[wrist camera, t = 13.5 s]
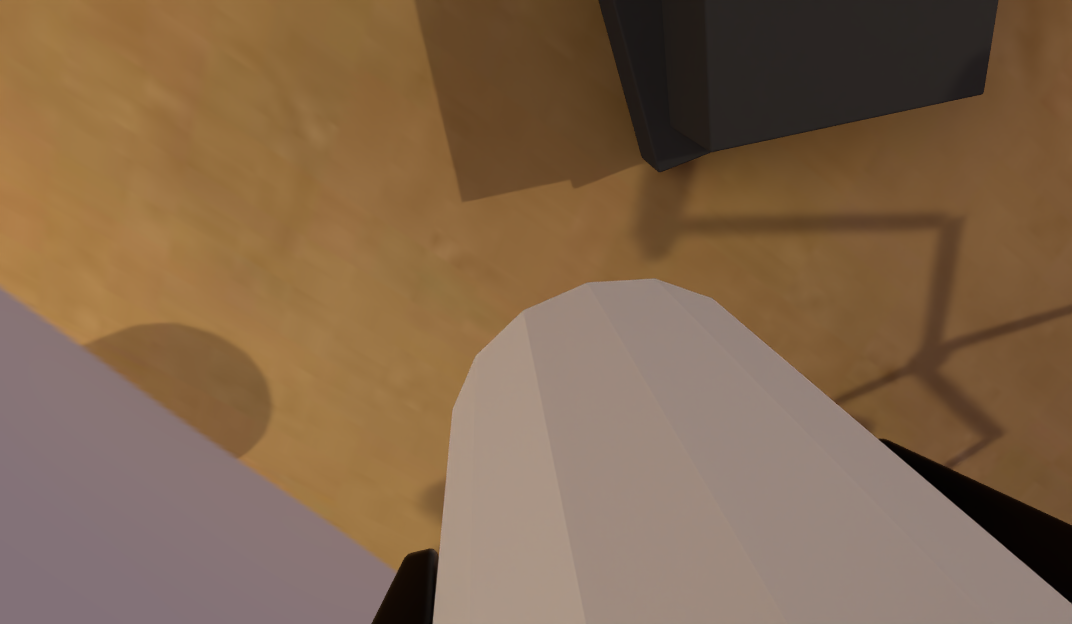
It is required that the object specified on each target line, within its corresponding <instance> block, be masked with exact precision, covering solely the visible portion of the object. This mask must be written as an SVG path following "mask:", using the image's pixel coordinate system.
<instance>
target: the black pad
mask: <svg viewBox="0 0 1072 624" xmlns="http://www.w3.org/2000/svg"><path fill="white" fill-rule="evenodd" d="M997 5H998V0H662V15H663V29H664V44H665V58H666V73H667V87H668V102H669V116H670V126H671V127H672V128H674V129H676V130H677V131H679V132H680V133H682V134H683V135H685V136H686V137H688V138H690V139H691V140H693V141H694V142H696V143H697V144H699V145H700V146H702V147H704V148H705V149H707V150H708V151H710V152H715V151H719V150H724V149H729V148H733V147H738V146H743V145H747V144H752V143H757V142H761V141H766V140H771V139H775V138H780V137H785V136H789V135H794V134H799V133H803V132H808V131H813V130H817V129H822V128H827V127H832V126H836V125H841V124H846V123H850V122H855V121H860V120H864V119H869V118H874V117H878V116H883V115H888V114H892V113H897V112H902V111H906V110H911V109H916V108H920V107H925V106H930V105H934V104H939V103H944V102H948V101H953V100H958V99H962V98H967V97H972V96H976V95H981V94H983V92H984V87H985V80H986V74H987V68H988V62H989V55H990V49H991V43H992V37H993V30H994V24H995V18H996V11H997Z"/></svg>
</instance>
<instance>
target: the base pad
mask: <svg viewBox="0 0 1072 624" xmlns="http://www.w3.org/2000/svg"><path fill="white" fill-rule="evenodd" d="M599 4H600V7H601V11H602V15H603V18H604V22H605V25H606V29H607V33H608V36H609V40H610V44H611V47H612V51H613V54H614V58H615V62H616V65H617V69H618V73H619V76H620V80H621V83H622V87H623V91H624V94H625V98H626V102H627V105H628V109H629V112H630V116H631V120H632V123H633V127H634V131H635V134H636V138H637V141H638V145H639V149H640V152H641V156H642V158H643V159H644V160H645V161H646V162H648V163H649V164H650V165H651V166H652V167H653V168H654V169H655V170H657V171H658V172H662V171H665V170H667V169H670V168H672V167H675V166H677V165H680V164H683V163H685V162H688V161H690V160H693V159H695V158H698V157H700V156H703V155H705V154H708V153H710V151H708V150H707V149H705V148H704V147H702V146H700V145H699V144H697V143H696V142H694V141H693V140H691V139H690V138H688V137H686V136H685V135H683V134H682V133H680V132H679V131H677V130H676V129H674V128H672V127H671V126H670V116H669V102H668V87H667V73H666V58H665V44H664V29H663V15H662V0H599Z"/></svg>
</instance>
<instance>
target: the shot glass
mask: <svg viewBox="0 0 1072 624" xmlns="http://www.w3.org/2000/svg"><path fill="white" fill-rule="evenodd" d="M433 624H1072V604H1071V603H1070V602H1069V601H1068V600H1067V599H1065V598H1064V597H1063V596H1062V595H1061V594H1060V593H1058V592H1057V591H1056V590H1055V589H1054V588H1053V587H1051V586H1050V585H1049V584H1048V583H1047V582H1045V581H1044V580H1043V579H1042V578H1041V577H1040V576H1038V575H1037V574H1036V573H1035V572H1034V571H1033V570H1031V569H1030V568H1029V567H1028V566H1027V565H1025V564H1024V563H1023V562H1022V561H1021V560H1020V559H1018V558H1017V557H1016V556H1015V555H1014V554H1013V553H1011V552H1010V551H1009V550H1008V549H1007V548H1005V547H1004V546H1003V545H1002V544H1001V543H1000V542H998V541H997V540H996V539H995V538H994V537H993V536H991V535H990V534H989V533H988V532H987V531H985V530H984V529H983V528H982V527H981V526H980V525H978V524H977V523H976V522H975V521H974V520H973V519H971V518H970V517H969V516H968V515H967V514H965V513H964V512H963V511H962V510H961V509H960V508H958V507H957V506H956V505H955V504H954V503H953V502H951V501H950V500H949V499H948V498H947V497H945V496H944V495H943V494H942V493H941V492H940V491H938V490H937V489H936V488H935V487H934V486H933V485H931V484H930V483H929V482H928V481H927V480H925V479H924V478H923V477H922V476H921V475H920V474H918V473H917V472H916V471H915V470H914V469H913V468H911V467H910V466H909V465H908V464H907V463H905V462H904V461H903V460H902V459H901V458H900V457H898V456H897V455H896V454H895V453H894V452H893V451H891V450H890V449H889V448H888V447H887V446H885V445H884V444H883V443H882V442H881V441H880V440H878V439H877V438H876V437H875V436H874V435H873V434H871V433H870V432H869V431H868V430H867V429H865V428H864V427H863V426H862V425H861V424H860V423H858V422H857V421H856V420H855V419H854V418H853V417H851V416H850V415H849V414H848V413H847V412H845V411H844V410H843V409H842V408H841V407H840V406H838V405H837V404H836V403H835V402H834V401H833V400H831V399H830V398H829V397H828V396H827V395H825V394H824V393H823V392H822V391H821V390H820V389H818V388H817V387H816V386H815V385H814V384H813V383H811V382H810V381H809V380H808V379H807V378H806V377H804V376H803V375H802V374H801V373H800V372H798V371H797V370H796V369H795V368H794V367H793V366H791V365H790V364H789V363H788V362H787V361H786V360H784V359H783V358H782V357H781V356H780V355H778V354H777V353H776V352H775V351H774V350H773V349H771V348H770V347H769V346H768V345H767V344H766V343H764V342H763V341H762V340H761V339H760V338H758V337H757V336H756V335H755V334H754V333H753V332H751V331H750V330H749V329H748V328H747V327H746V326H744V325H743V324H742V323H741V322H740V321H738V320H737V319H736V318H735V317H734V316H733V315H731V314H730V313H729V312H728V311H727V310H726V309H724V308H723V307H722V306H721V305H720V304H718V303H717V302H716V301H715V300H714V299H713V298H710V297H707V296H704V295H701V294H698V293H695V292H692V291H689V290H687V289H684V288H681V287H678V286H675V285H672V284H669V283H666V282H663V281H660V280H658V279H641V280H624V281H606V282H589V283H585V284H583V285H581V286H578V287H576V288H574V289H571V290H569V291H567V292H565V293H562V294H560V295H558V296H555V297H553V298H551V299H548V300H546V301H544V302H541V303H539V304H537V305H535V306H532V307H530V308H528V309H525V310H523V311H522V312H521V313H520V314H519V315H518V316H517V317H516V318H515V319H514V320H513V321H512V322H511V323H509V324H508V325H507V326H506V327H505V328H504V329H503V330H502V331H501V332H500V333H499V334H498V335H497V336H496V337H495V338H494V339H493V340H492V341H491V342H490V343H489V344H488V345H487V346H485V347H484V348H483V349H482V350H481V351H480V352H479V353H478V354H477V355H476V356H475V358H474V361H473V363H472V365H471V368H470V370H469V372H468V375H467V377H466V379H465V382H464V384H463V386H462V389H461V391H460V393H459V396H458V398H457V400H456V403H455V405H454V407H453V411H452V422H451V433H450V443H449V454H448V465H447V476H446V486H445V497H444V508H443V519H442V529H441V540H440V551H439V561H438V572H437V583H436V594H435V604H434V615H433Z"/></svg>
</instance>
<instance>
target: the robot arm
mask: <svg viewBox="0 0 1072 624" xmlns="http://www.w3.org/2000/svg"><path fill="white" fill-rule="evenodd" d="M878 440H880V441H881V442H882V443H883V444H884V445H885V446H887V447H888V448H889V449H890V450H891V451H893V452H894V453H895V454H896V455H897V456H898V457H900V458H901V459H902V460H903V461H904V462H905V463H907V464H908V465H909V466H910V467H911V468H913V469H914V470H915V471H916V472H917V473H918V474H920V475H921V476H922V477H923V478H924V479H925V480H927V481H928V482H929V483H930V484H931V485H933V486H934V487H935V488H936V489H937V490H938V491H940V492H941V493H942V494H943V495H944V496H945V497H947V498H948V499H949V500H950V501H951V502H953V503H954V504H955V505H956V506H957V507H958V508H960V509H961V510H962V511H963V512H964V513H965V514H967V515H968V516H969V517H970V518H971V519H973V520H974V521H975V522H976V523H977V524H978V525H980V526H981V527H982V528H983V529H984V530H985V531H987V532H988V533H989V534H990V535H991V536H993V537H994V538H995V539H996V540H997V541H998V542H1000V543H1001V544H1002V545H1003V546H1004V547H1005V548H1007V549H1008V550H1009V551H1010V552H1011V553H1013V554H1014V555H1015V556H1016V557H1017V558H1018V559H1020V560H1021V561H1022V562H1023V563H1024V564H1025V565H1027V566H1028V567H1029V568H1030V569H1031V570H1033V571H1034V572H1035V573H1036V574H1037V575H1038V576H1040V577H1041V578H1042V579H1043V580H1044V581H1045V582H1047V583H1048V584H1049V585H1050V586H1051V587H1053V588H1054V589H1055V590H1056V591H1057V592H1058V593H1060V594H1061V595H1062V596H1063V597H1064V598H1065V599H1067V600H1068V601H1069V602H1070V603H1071V604H1072V525H1070V524H1068V523H1065V522H1063V521H1061V520H1059V519H1057V518H1055V517H1053V516H1050V515H1048V514H1046V513H1044V512H1042V511H1040V510H1037V509H1035V508H1033V507H1031V506H1029V505H1027V504H1025V503H1022V502H1020V501H1018V500H1016V499H1014V498H1012V497H1009V496H1007V495H1005V494H1003V493H1001V492H999V491H997V490H994V489H992V488H990V487H988V486H986V485H984V484H981V483H979V482H977V481H975V480H973V479H971V478H969V477H966V476H964V475H962V474H960V473H958V472H956V471H953V470H951V469H949V468H947V467H945V466H943V465H941V464H938V463H936V462H934V461H932V460H930V459H928V458H925V457H923V456H921V455H919V454H917V453H915V452H913V451H910V450H908V449H906V448H904V447H902V446H900V445H897V444H895V443H893V442H891V441H889V440H886V439H878ZM438 561H439V557H438V554H437V552H436V551H435V550H434V549H430V548H429V549H425V550H421V551H417V552H413V553H410V554H408V555H407V556H406V557H405V558H404V560H403V562H402V564H401V566H400V568H399V570H398V572H397V574H396V576H395V578H394V580H393V582H392V584H391V586H390V588H389V590H388V592H387V594H386V596H385V598H384V600H383V602H382V604H381V606H380V608H379V610H378V612H377V614H376V616H375V618H374V620H373V622H372V624H433V615H434V604H435V594H436V583H437V572H438Z"/></svg>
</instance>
